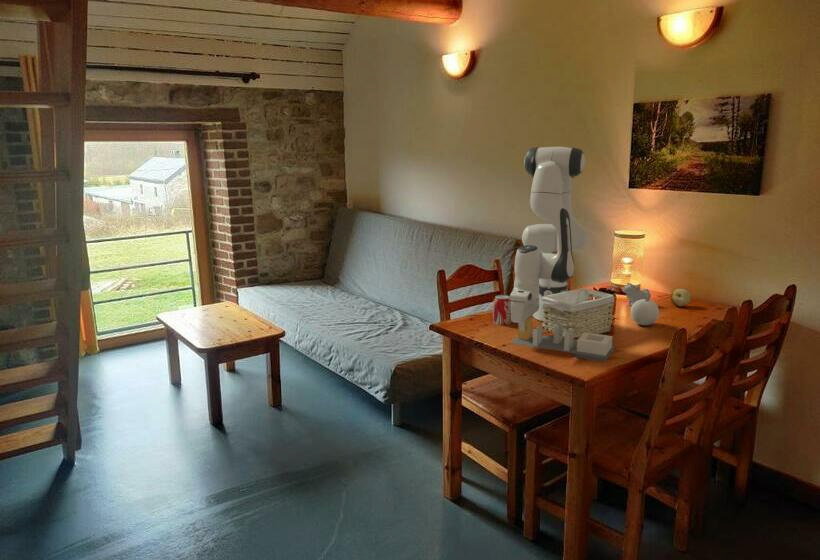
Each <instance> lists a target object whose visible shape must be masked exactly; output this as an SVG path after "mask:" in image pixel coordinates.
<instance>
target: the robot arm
mask: <svg viewBox="0 0 820 560" xmlns="http://www.w3.org/2000/svg"><path fill="white" fill-rule="evenodd" d="M523 163H524V164H523V165H524V169H525V172H527V174H528V175H529V176H531V178H533V179H532V184H531V187H530V188H531V189H530V196H529V197H530V200H529V206H530V209H531V211H532V212H533V214H534V215H536V216H537V217H538V218H539V219H541V220H544V221H546V222H547V223H536V224H531V225H527V226H526V227H525V228H524V229H523V232H522V235H521V241H522V242H521V243H522V244H523V245H521V246H519V247H518V248H516V249H517V250H516V253H515V258H514V259H515V260H514V275H515V276H514V281H513V282H514V283H513V288H512V291H511V293H510V294H509V297H510V300H511V320H512V321H511V322H512V323H514V322H516V324H518V323H519V325H520V330H521V331H525V330H526V325H525V322H526V319H527V318H529V317H530V316H533V319H536V320H538V321H540V322H544V315H543V306H542V297H543V296H547V295H552V294H557V293H562V292H567V291H569V287H570V286H569V285H570V284H569V283H568V281H569V280H570V279H571V278H572V277H573V276H574V273H575V263H574V257H573V252H575V251H580V250H583V249H584V248H585V246H586V245H587V244H588V241H589V235H588V232H587V230H586V228H585V227H584V226H583V225H582V224H580V223H579V222H578V221H577V219H576V218H575V216H574V214H573V210H572V191H573V190H572V188H573V184H572V182H573V181H572V179H574V178H575V177H579V175H580V174H582V173H583V170H584V168H585V165H586V157H585V153H584V152H583V150H582V149H581V148H577V147H575V146H574V147H566V146H557V145H556V146H545V147H544V146H543V147H539V146H535V147H530V148H529V149H528V150H527V151H526V154H525V156H524V161H523ZM553 252H556V253H553Z"/></svg>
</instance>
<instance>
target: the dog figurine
mask: <svg viewBox="0 0 820 560" xmlns="http://www.w3.org/2000/svg"><path fill="white" fill-rule="evenodd" d="M621 291H622V293H625V294H626V295H625V296H626V298H627V300H628V301H627V306H628V307H629V306H631V307H630V309H631V308H632V306H633V304H634V303H635V302H636V301H638V300H641V299H646V295H647V296H649V300H651V297H652V295H651V292H650V290H649V289H648V288H643V289H641V287H640V286H639V285H636V286H635V285H634V284H632V283H630V282H626V285H624V286H622V287H621Z"/></svg>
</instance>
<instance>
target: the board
mask: <svg viewBox="0 0 820 560" xmlns="http://www.w3.org/2000/svg"><path fill="white" fill-rule="evenodd" d="M543 332H544V324H538V325H537V328H534V327H533V333H532V338H531V339H530V340H523V339H518V336H516V337H515V338H514V339H513V340H511V341H510V342H509V344H514V345H520V346H526V347H532V348H537V349H538V348H539V349H545V350H552V351H559V352H564V353H565V352H566V353H571V354H572V355H571V356H570V357H571V358H577V359H584V360H589V361H595V362H603V363H605V362H606V361H607V359H608V358H609V357H610V355H611V354H612V353H613V352H614V350H615V345H614V344H613V336H612V335H606V334H593V333H585V332H584V333H583V335H582V336H581V337H578V339H575V338H574V329H569V330H568V333H567V332H566V333H565V336H563V323H558V326H554V333H553V336H549V335H544V333H543Z"/></svg>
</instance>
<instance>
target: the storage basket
mask: <svg viewBox="0 0 820 560" xmlns="http://www.w3.org/2000/svg"><path fill="white" fill-rule="evenodd" d="M591 298H595V299H592V300H590V299H591ZM614 304H615V296H614V294H611V293H607V292H604V291H600V290H599V291H598V290H594V289H590V288H584V287H581V288H579V289H578V288H577V289H576V288H575V289H573V290H572V289H571V290H568V291H567V292H562V293H557V294H552V295H547V296H543V297H542V306H543V315H544V321H543V326H544V330H545V331H549V332H551V333H553V334H554V326H558V323H563V337H565V333H566V332H567V333H568V330H569V329H574V339H575V338H580V337H581V336H582V335H583V333H584V332H585V333H593V334H600V335H602V334H604V333H607V332H610V331H611V326H612V317H613V310H614V308H613V307H614Z"/></svg>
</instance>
